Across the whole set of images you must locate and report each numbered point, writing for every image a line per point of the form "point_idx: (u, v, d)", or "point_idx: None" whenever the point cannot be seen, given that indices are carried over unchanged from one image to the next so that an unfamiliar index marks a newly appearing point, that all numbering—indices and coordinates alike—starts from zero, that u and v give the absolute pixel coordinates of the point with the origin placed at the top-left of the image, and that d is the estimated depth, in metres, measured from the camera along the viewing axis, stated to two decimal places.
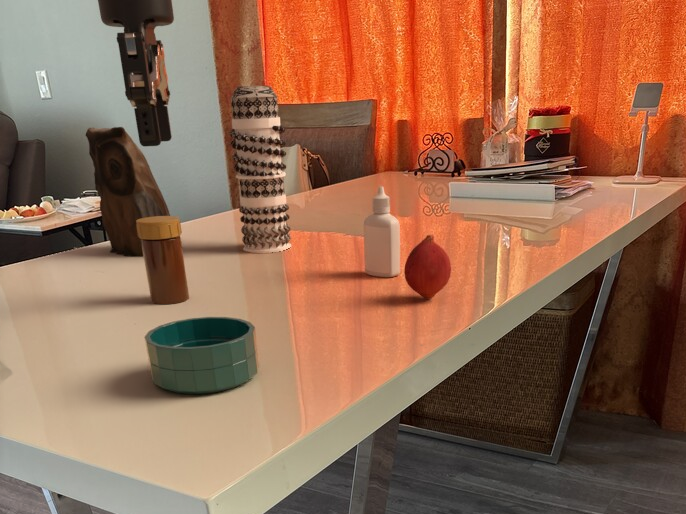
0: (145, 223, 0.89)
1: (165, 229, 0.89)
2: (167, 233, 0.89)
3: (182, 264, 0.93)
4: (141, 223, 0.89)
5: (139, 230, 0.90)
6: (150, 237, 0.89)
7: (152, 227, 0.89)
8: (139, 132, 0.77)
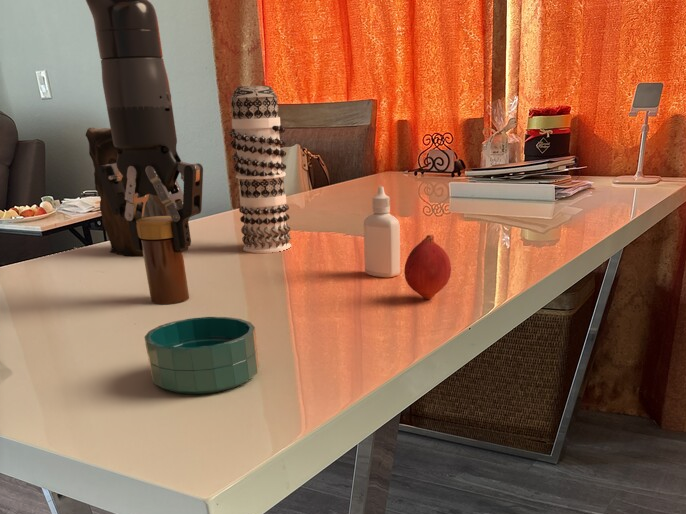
0: (145, 223, 0.89)
1: (165, 229, 0.89)
2: (167, 233, 0.90)
3: (182, 264, 0.93)
4: (141, 223, 0.89)
5: (139, 230, 0.90)
6: (150, 237, 0.89)
7: (152, 227, 0.89)
8: (179, 241, 0.90)
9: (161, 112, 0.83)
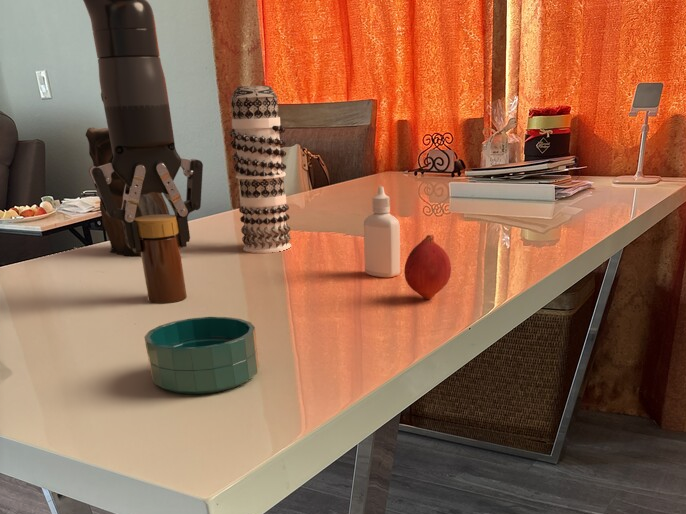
0: (159, 221, 0.89)
1: (175, 225, 0.91)
2: (176, 229, 0.91)
3: (180, 263, 0.93)
4: (154, 222, 0.89)
5: (149, 229, 0.89)
6: (165, 234, 0.90)
7: (166, 224, 0.90)
8: (185, 236, 0.93)
9: (169, 110, 0.86)
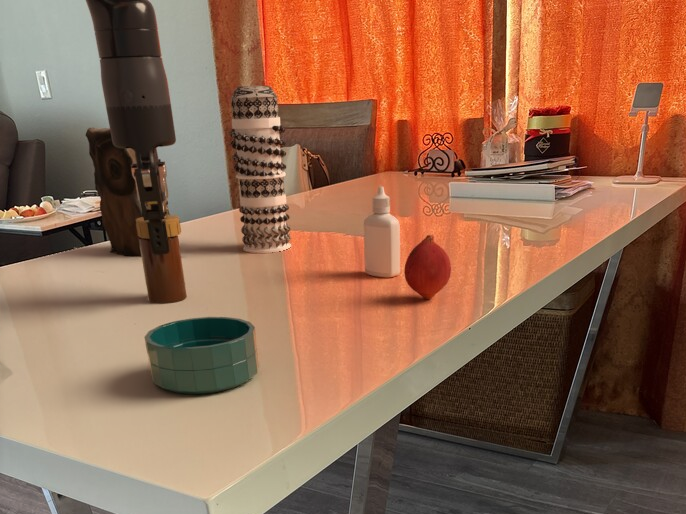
0: None
1: None
2: None
3: (180, 263, 0.93)
4: (177, 218, 0.91)
5: (176, 227, 0.91)
6: (180, 230, 0.93)
7: None
8: None
9: None
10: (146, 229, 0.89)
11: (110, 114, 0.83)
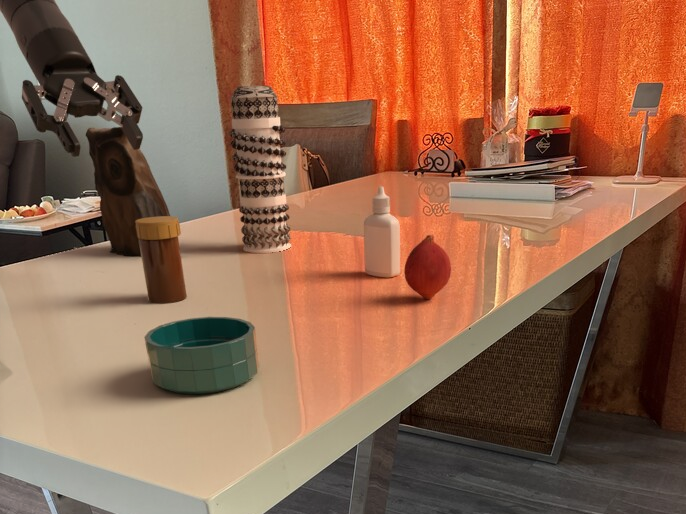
0: None
1: None
2: None
3: (180, 263, 0.93)
4: (176, 220, 0.91)
5: (175, 228, 0.91)
6: (179, 232, 0.93)
7: None
8: None
9: None
10: (145, 230, 0.89)
11: (73, 35, 0.94)
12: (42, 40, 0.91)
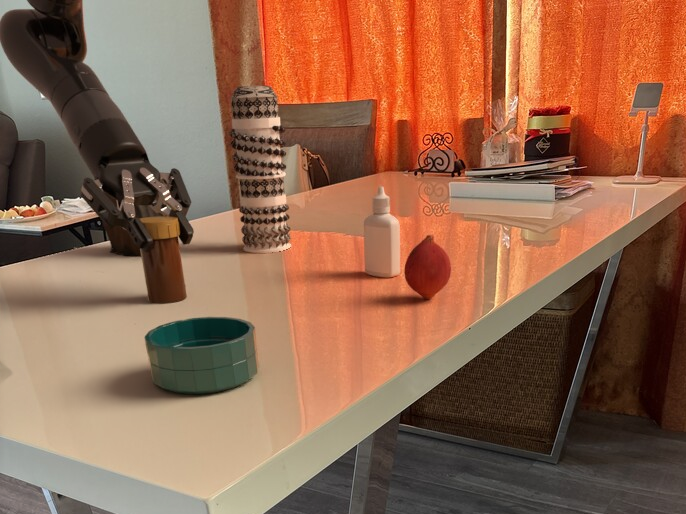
0: (177, 219, 0.91)
1: None
2: None
3: (180, 263, 0.93)
4: (176, 220, 0.91)
5: (175, 228, 0.91)
6: (179, 232, 0.93)
7: None
8: None
9: (80, 153, 0.91)
10: None
11: (127, 125, 0.91)
12: (98, 131, 0.89)
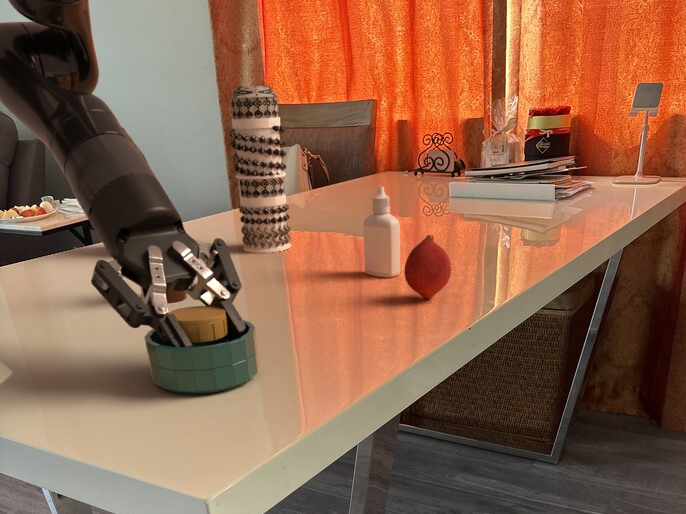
0: None
1: None
2: None
3: None
4: (224, 314, 0.66)
5: (222, 326, 0.65)
6: (226, 329, 0.67)
7: None
8: None
9: (91, 221, 0.66)
10: None
11: (155, 182, 0.66)
12: (115, 193, 0.64)
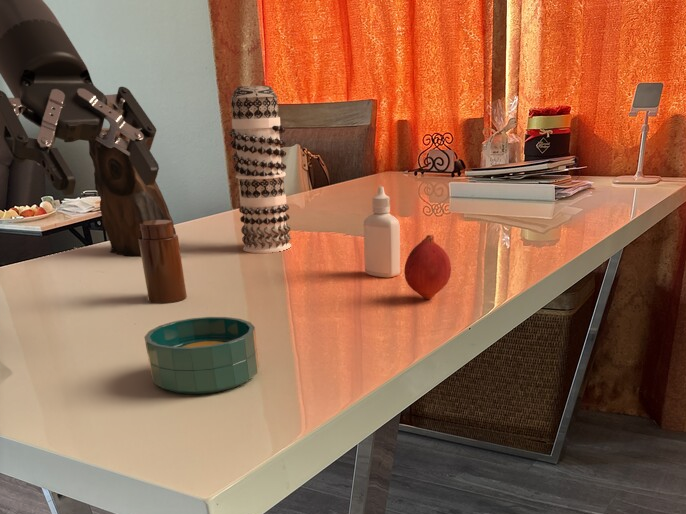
0: None
1: None
2: None
3: (180, 263, 0.93)
4: None
5: None
6: None
7: None
8: None
9: None
10: None
11: (61, 31, 0.68)
12: (19, 36, 0.66)
